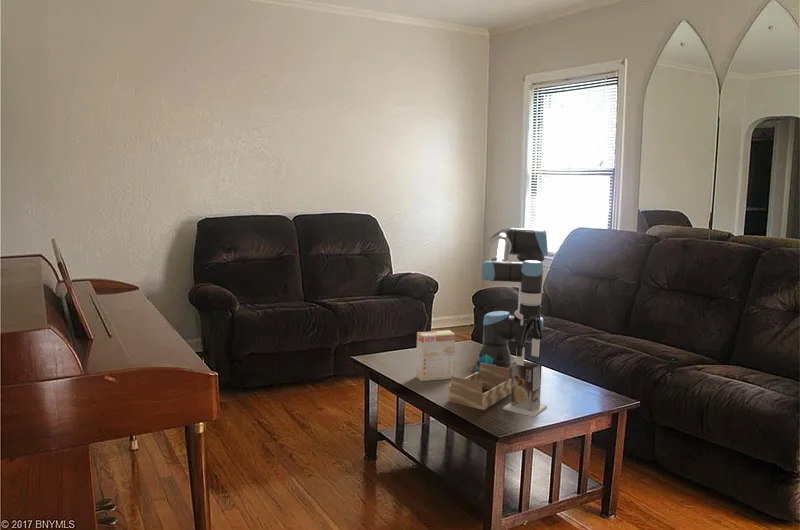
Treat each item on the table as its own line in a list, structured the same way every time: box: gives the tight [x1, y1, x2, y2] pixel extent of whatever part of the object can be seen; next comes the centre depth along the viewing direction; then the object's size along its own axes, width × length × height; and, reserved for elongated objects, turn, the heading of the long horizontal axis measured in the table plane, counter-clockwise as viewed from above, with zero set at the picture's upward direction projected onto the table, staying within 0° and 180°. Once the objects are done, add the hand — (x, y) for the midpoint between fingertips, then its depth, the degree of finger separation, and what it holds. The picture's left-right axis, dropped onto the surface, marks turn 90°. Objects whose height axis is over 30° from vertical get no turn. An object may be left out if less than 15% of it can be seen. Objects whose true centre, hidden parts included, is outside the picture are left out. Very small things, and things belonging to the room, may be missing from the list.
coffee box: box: [510, 360, 542, 411], centre depth 238 cm, size 9×6×16 cm
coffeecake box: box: [415, 329, 456, 382], centre depth 273 cm, size 15×7×20 cm, turn 108°
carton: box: [447, 362, 512, 411], centre depth 250 cm, size 23×15×10 cm, turn 145°
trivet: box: [502, 401, 548, 418], centre depth 239 cm, size 12×12×1 cm
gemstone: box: [475, 354, 495, 373], centre depth 271 cm, size 7×9×12 cm
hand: (527, 360), depth 237 cm, fingers open, 13 cm apart
